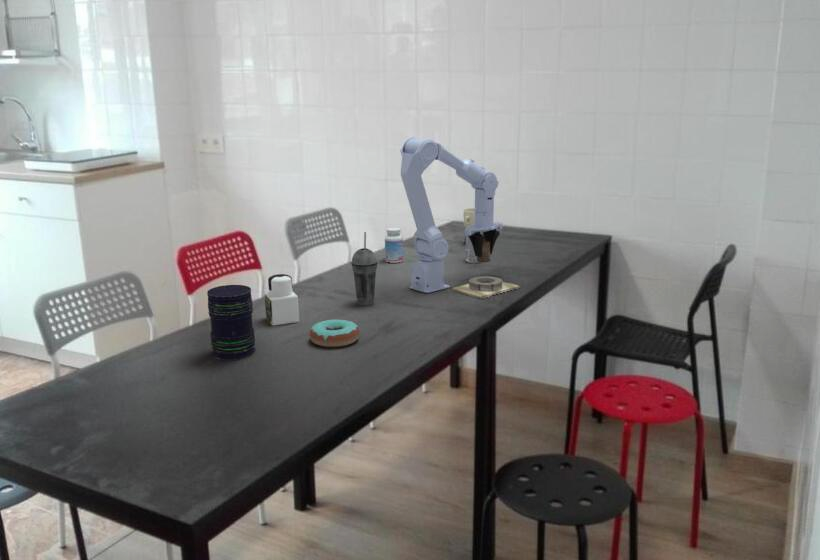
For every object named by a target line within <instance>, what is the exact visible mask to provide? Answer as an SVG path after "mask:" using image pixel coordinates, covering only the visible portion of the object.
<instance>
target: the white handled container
mask: <svg viewBox="0 0 820 560" xmlns="http://www.w3.org/2000/svg"><path fill="white" fill-rule="evenodd" d="M267 280H268V281H267V284H268V291H266V292H264V303H265V318H266V320H267V321H268V323H270V325H272V326H273V327H274V326H279V325H280V326H281V325H288V324H294V323H299V322H300V313H299V310H300V309H299V296H298V295H297V294H296V293H295V292H294V291H293V290H294V289H293V277H292V276H291V275H289V274H284V273H279V274H273V275H271V276H269V277H268V278H267Z"/></svg>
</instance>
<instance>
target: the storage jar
mask: <svg viewBox="0 0 820 560" xmlns="http://www.w3.org/2000/svg"><path fill="white" fill-rule="evenodd" d="M206 295H207V309H208V311H207V313H208V315H209V318H210V326H211V327H210V328H211V331H210V335H209V336H210V343H211V344H210V345H211V349H212V357H213V358H214V359H217V360H222V361H237V360H242V359H243V360H244V359H247V358H250V357H252V356H253V355H255V353H256V347H255V345H256V343H255V342H256V335H255V333H256V331H255V327H253V326H254V325H253V316H252V315H253V312H254V311H253V310H254V308H253V299H252V288H251V287H250V286H247V285H243V284H226V285H219V286H215V287H212V288H210V289H208V290H207V293H206Z"/></svg>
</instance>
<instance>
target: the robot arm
mask: <svg viewBox="0 0 820 560" xmlns="http://www.w3.org/2000/svg"><path fill="white" fill-rule="evenodd" d="M400 154H401V162H400V163H401V164H400V165H401V166H400V177H401V180H402V183H403V187H404V189H405V193H406V197H407V200H408V204H409V207H410V210H411V213H412V214H411V215H412V217H413V221H414V224H415V227H416V231H415V232H414V233H413V237H414V244H413V245H414V249H415V251H416V252H417V254H418V260H417V261H415V262H413V263H412V265H411V266H410V280H411V281H410V284H411V285H410V286H409V289H412V290H415V291H418V292H421V293H425V294H430V293H433V292H437V291H441V290H446V289H449V288H450V287H451V286H450V285H449V284H445V283H444V282H445V279H444V276H445V275H444V274H445V270H444V269H445V267H444V266H445V264H444V263H445V262H444V261H445V258H446V257H447V255H448V254H449V247H450V246H449V244H448V241H447V240H446V239H445V238H444V236H443V233H442V231H440V229H439V228H438V227H437V226H436V223H435V219H434V216H433V213H432V209H431V204H430V203H429V198H428V194H427V191H426V189H425V185H424V181H423V178H422V175H423V173H424V171H426V169H427V168H429V166H430V165H431V164H432V163H433V162H434V161H439V162H441V163H443V164H445V165H446V166H448V167H450V168H452V169H454V170H455V174H456V175H457V177H458V178H460V179H462V180H463V181H465V182H466V183H468V184H469V185H471V188H472V189H474V208H475V225H473V226H471V227H468V228H466V227H465V228H464V235H468V237H469V239H470V241H471V243H472V245H473V249H474V253H475V256H478V257H481V256H482V247H483V241H484V240H486V241H490V255H492V254H493V250H494V246H495V244H496V242H497V239H498V238H499V236H500V231H499V230H503V222H498V221H497V222H494V216H495V215H494V211H495V209H494V206H495V205H494V204H495V203H494V201H495V195H496V190H497V188H498V186H499V183H500V181H498V178H497V176H496V174H495V173H493V172H490V171H487V170H486V168H485V167H483V166H480V165H478V164H476V163H475V160H474V159H472V158H465V159H461V158H459V157H458V156H457V155H456V154H454V153H453V152H451V151H450V150H448V149H447V148H445V147H444V146H443V145H442V144H441V143H438V142H436V141H434V140H432V139H424V138H416V137H410V138H408V139H406V140H405V141H404V143H403V145H402V147H401V149H400ZM481 232H482V235H481V234H480V233H481Z"/></svg>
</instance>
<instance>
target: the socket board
mask: <svg viewBox="0 0 820 560" xmlns="http://www.w3.org/2000/svg"><path fill="white" fill-rule="evenodd" d="M468 282H469V283H466V284H463V285H459V286H458V285H457V286H454V287H451V291H452V292H454V293H459V294H461V293H462V295H465V296H469V297H473V298H475V299H479V298H480V300H484V299H486V297H488V298H491V297H493V296H492V295H495V296H497V295H496V294H498V295H501V294H500V293H502V294H504V293H503V292H505V293H508V292H507V291H509V292H511V291H510V290H512V291H515V290H514V289H516V290H518V288H519V289H520V285H517V284H514V283H509V282H505V281H503V278H500V277H495V276H490V275H489V276H487V275H484V276H483V275H480V276H475V277H471V278H469V281H468ZM490 296H491V297H490ZM483 298H484V299H483Z"/></svg>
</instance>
